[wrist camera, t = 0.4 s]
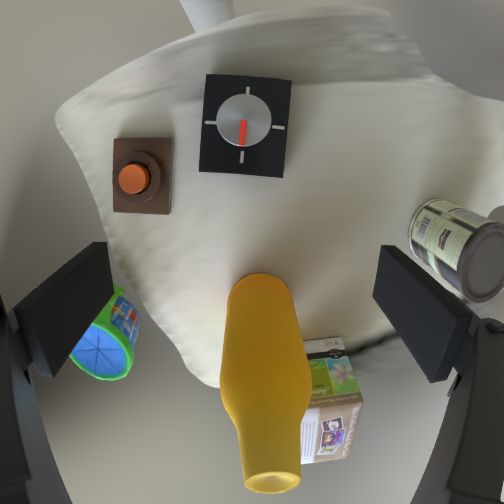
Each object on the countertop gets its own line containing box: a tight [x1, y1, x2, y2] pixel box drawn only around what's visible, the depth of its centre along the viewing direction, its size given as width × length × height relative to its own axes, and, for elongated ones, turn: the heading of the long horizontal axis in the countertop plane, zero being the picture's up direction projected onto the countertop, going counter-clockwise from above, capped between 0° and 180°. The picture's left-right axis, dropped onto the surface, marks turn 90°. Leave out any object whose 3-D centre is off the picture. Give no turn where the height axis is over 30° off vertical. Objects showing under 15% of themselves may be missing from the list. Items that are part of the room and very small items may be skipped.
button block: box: [113, 138, 173, 215], centre depth 37 cm, size 10×8×3 cm
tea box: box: [301, 337, 363, 464], centre depth 44 cm, size 15×10×15 cm, turn 5°
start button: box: [119, 163, 150, 194], centre depth 36 cm, size 4×4×2 cm
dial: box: [216, 94, 271, 146], centre depth 30 cm, size 5×5×8 cm
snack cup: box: [70, 285, 139, 380], centre depth 41 cm, size 16×10×10 cm
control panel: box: [199, 74, 292, 178], centre depth 35 cm, size 12×10×3 cm
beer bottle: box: [220, 273, 312, 494], centre depth 32 cm, size 9×9×29 cm
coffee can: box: [408, 199, 504, 304], centre depth 35 cm, size 10×10×14 cm
